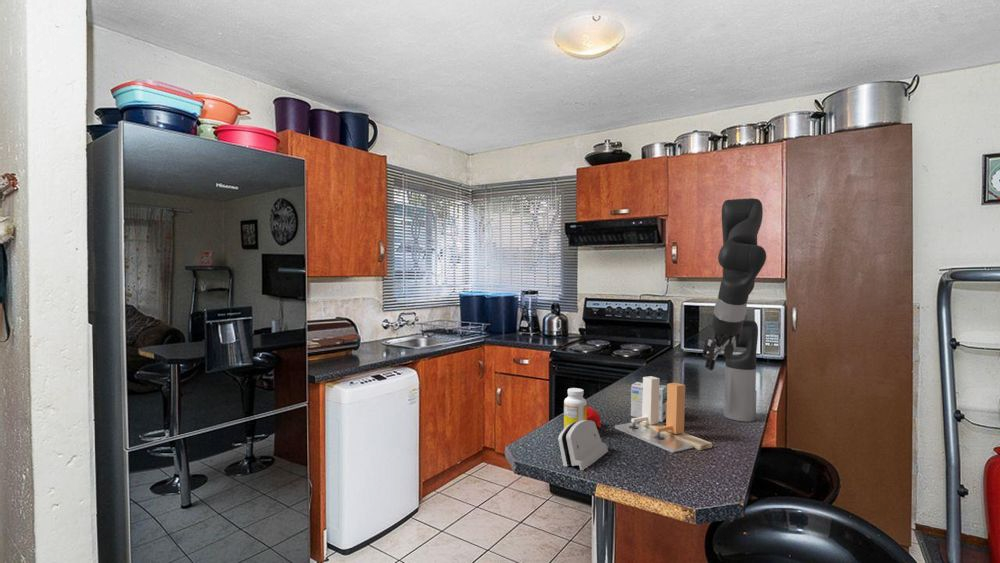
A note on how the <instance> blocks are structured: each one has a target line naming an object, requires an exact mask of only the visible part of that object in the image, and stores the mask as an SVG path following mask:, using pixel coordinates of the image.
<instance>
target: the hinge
mask: <svg viewBox="0 0 1000 563" xmlns="http://www.w3.org/2000/svg"><path fill="white" fill-rule="evenodd" d="M557 439H558V440H557V442H558V444H559V450H560V455H561V461H562V464H563V467H565V466H566V467H569V466H572V467H574V466H578V467H579V470H580V471H581V470H583V471H585V470H586V469H587V468H588V466H589V467H590V466H592V465H593V463H595V462H597V461H598V459H600V458H602V456H605V454H607V453H608V452H609V448H608V445H607V444H606V443H605V442H603V441H602V437H600V433H599V430H598V426H597V425H596V423H595V422H594V421H592V420H590V421H589V420H582V421H576V422H574V423H571V424H569V425H568V426H566V427H565V428H564V427H563V429H562V430H561V432H560V433H559V435H558V438H557ZM585 468H586V469H585ZM584 469H585V470H584Z"/></svg>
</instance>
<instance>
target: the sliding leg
mask: <svg viewBox="0 0 1000 563" xmlns="http://www.w3.org/2000/svg"><path fill="white" fill-rule="evenodd" d="M666 386H667V415H666V418H665V420H666V421H665V424H666V425H665V426H663V427H658V428H656V432H657V436H658V437H660V432H663V431H668V432H671V433H674V434H680V433H685V413H686V412H685V409H686V407H685V405H686V403H685V402H686V384H682V383H678V382H670V383H667V384H666Z"/></svg>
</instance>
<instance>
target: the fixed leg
mask: <svg viewBox="0 0 1000 563" xmlns="http://www.w3.org/2000/svg"><path fill="white" fill-rule="evenodd" d="M660 379H661V378H660V377H656V376H652V375H650V376H643V377H642V383H643V399H642V417H632V418H631V419H630V421H631V422H632V426H633V427H635V423H640V422H645V423H647V424H650V425H652V424H657V423H660V421H659V386H660V384H661V382H660ZM631 422H630V423H631Z"/></svg>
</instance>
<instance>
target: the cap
mask: <svg viewBox="0 0 1000 563" xmlns="http://www.w3.org/2000/svg"><path fill="white" fill-rule="evenodd" d="M586 420H589V421H594V422H595V424H596V427H597V428H599V429H601V427H602V424H601V417H600V414H599V413H598V411H596V410H595V409H594V408H592V407H590V406H587V410H586Z"/></svg>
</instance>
